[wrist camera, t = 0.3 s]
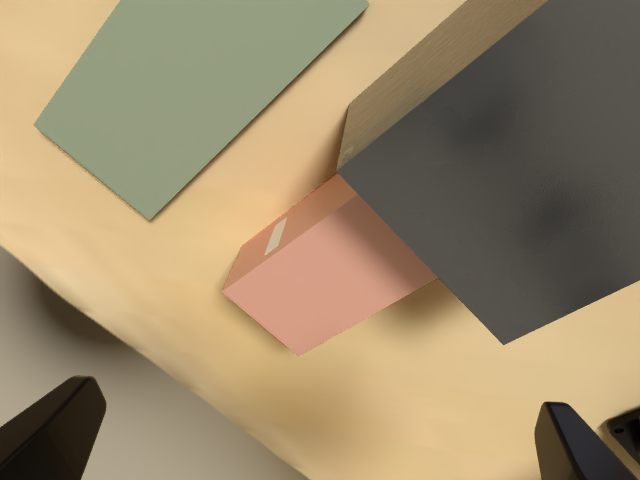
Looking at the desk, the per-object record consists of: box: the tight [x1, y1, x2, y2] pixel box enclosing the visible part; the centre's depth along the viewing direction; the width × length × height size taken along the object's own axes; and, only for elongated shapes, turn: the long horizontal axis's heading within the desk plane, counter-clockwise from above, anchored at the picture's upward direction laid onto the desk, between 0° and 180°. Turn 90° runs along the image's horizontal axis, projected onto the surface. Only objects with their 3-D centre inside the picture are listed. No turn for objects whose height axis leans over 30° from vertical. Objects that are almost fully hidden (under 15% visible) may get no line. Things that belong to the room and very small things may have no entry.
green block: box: [34, 0, 369, 220], centre depth 19 cm, size 6×14×1 cm, turn 133°
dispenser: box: [336, 0, 640, 345], centre depth 16 cm, size 9×10×6 cm
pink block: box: [222, 173, 438, 356], centre depth 21 cm, size 5×13×4 cm, turn 132°
